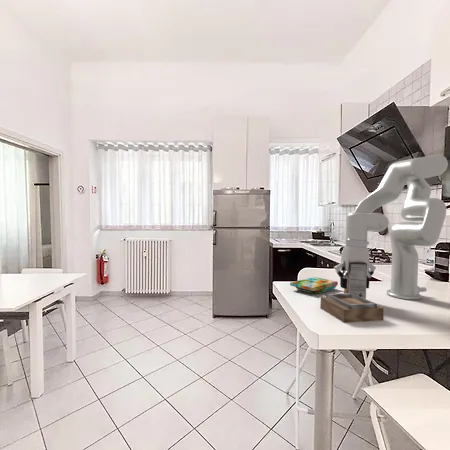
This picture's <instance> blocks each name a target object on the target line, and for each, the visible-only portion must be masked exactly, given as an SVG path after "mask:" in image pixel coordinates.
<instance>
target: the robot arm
mask: <svg viewBox="0 0 450 450" xmlns="http://www.w3.org/2000/svg"><path fill="white" fill-rule="evenodd" d="M448 165H449V163H448V160H447V157H445V156H444V155H442V154H440V153H438V154H431V155H426V156H421V157H420V156H419V157H413V158H409V159H405V160H399V161H395V162H394V163H392V164H391V165H389V167H388V168H387V170H386V172H385V173H384V175H383V177H382V179H381V181H380V182H379V184H378V186H377V189H375V190H374V191H373V192H372V193H370V194H369V195H368V196H367V197H365V198H363V200H362V201H360V202H359V204H358V205H357V206H356V208H355V210H354V211H353V212H349V213H348V214H347V215H346V223H345V224H346V225H345V227H346V230H345V246H344V247H343V249H342V252H341V255H340V256H341V257H340V263H338V264H337V265H335V266H334V269H335V272H336V274H337V275H338V277H339V278H340V279H339V280H340V283H339V286H340V288H341V289H343V290H344V289H347V279H346V277H347V276H348V273H349V262H365V263H367V282H366V289H370V279H371V278H372V276H373V275H374V272H375V271H376V266H375V265H374V264H372V263H371V262H370V252H369V248H368V245H370V241H368V232H371V233H372V232H373V233H378V232H379V233H380V232H383V231H384V230H385V231H386V229H387V228H388V226H389V225H390V224H389V218H388V217H387V216H386V215H385V214H383V213H380V212H374V211H375V210H377V209H379V208H381V207H382V206H386V205H388V204H390V203H392V202H394V201H396V200H398V198H399V197H400V195H401V193H402V191H403V189H404V187H405V185H406V186H407V190H406V191H407V192H406V194H405V197H404V201H403V204H402V206H401V211H400V216H401V218H402V219H403V220H405V221H402V222H397V223H394V224H392V226H391V227H390V230H389V237H390V243H391V275H390V276H391V277H390V278H391V279H390V289H387V290H386V294H387V295H388V296H390V297H393V298H397V299H403V300H409V301H411V300H415V301H416V300H417V301H418V300H421V299H422V295H421V294H420V293H423V292H424V293H426V292H427V291H428V290H427V287H425V286H422V287H420V286H419V285H418V279H419V278H418V277H419V275H418V274H419V273H418V272H419V253H418V250H417V249H416V247H417V246H418V247H432V246H435V245H436V243H437V242H438V240H439V238H440V236H441V233H442V230H443V229H442V228H443V226H444V222H445V219H446V216H447V206H446V203H445V202H444V201H443V200H442V199H440V198H437V197H431V195H432V189H431V185H430V184H429V183H428V182H427V181H426V179H429V178H433V177H437V176H441V175H443V174H444V173H445V172H446V171H447V169H448ZM415 246H416V247H415Z"/></svg>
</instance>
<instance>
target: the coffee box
mask: <svg viewBox="0 0 450 450" xmlns="http://www.w3.org/2000/svg"><path fill="white" fill-rule="evenodd" d="M346 279H347V289H344V288H343V293H352V294H355V295H357V296H359V297H362V298H364V299H366V300H367V288H366V282H367V263H365V262H349V273H348V276H347V277H346Z"/></svg>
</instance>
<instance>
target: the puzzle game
mask: <svg viewBox="0 0 450 450" xmlns="http://www.w3.org/2000/svg"><path fill="white" fill-rule="evenodd" d="M338 285H339V281H337V280H331V279H327V278H322V277H315V276H314V277H308V278H304V279H300V280H295V281H292V282H290V283H289V286H291V287H295V288H296V290H297V291H301V292H306V293H309V294H312V295H313V294H314V295H317V294H320V293H325V292H328V291H331V290H332V291H333V290H334V289H336V288H337V286H338Z"/></svg>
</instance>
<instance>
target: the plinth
mask: <svg viewBox="0 0 450 450" xmlns="http://www.w3.org/2000/svg"><path fill="white" fill-rule="evenodd" d="M319 306H320V309H321V310H323V311H324V312H326V313H328V314H329V315H331V316H332V317H333V318H335V319H338V320H339V321H340V322H343V323H360V322H361V323H362V322H363V323H364V322H375V321H376V322H377V321H378V322H379V321H380V322H381V321H384V310H385V308H384V307H383V306H380V305H378V303H376V302H373V301H372V300H368V299H367V298H366V299H364V298H362V297H359V296H357V295H355V294H352V293H344V292H343V293H326V296H321V297H320V305H319Z"/></svg>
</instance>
